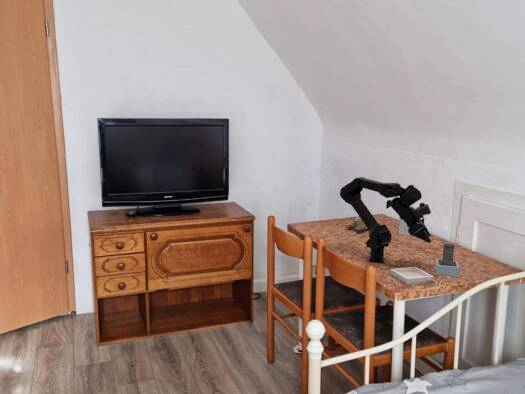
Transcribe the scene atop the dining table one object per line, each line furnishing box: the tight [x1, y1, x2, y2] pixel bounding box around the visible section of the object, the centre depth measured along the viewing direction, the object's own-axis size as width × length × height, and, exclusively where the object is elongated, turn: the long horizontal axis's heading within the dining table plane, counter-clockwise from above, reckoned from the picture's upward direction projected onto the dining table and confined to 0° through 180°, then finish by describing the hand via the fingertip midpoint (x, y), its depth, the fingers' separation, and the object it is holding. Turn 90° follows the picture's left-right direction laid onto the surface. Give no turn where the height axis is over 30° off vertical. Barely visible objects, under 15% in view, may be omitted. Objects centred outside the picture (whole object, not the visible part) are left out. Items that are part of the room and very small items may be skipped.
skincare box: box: [397, 216, 411, 236], centre depth 259 cm, size 6×4×12 cm
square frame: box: [434, 258, 460, 278], centre depth 202 cm, size 8×8×4 cm
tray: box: [389, 266, 434, 286], centre depth 194 cm, size 12×12×2 cm
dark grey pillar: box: [441, 242, 455, 266], centre depth 201 cm, size 4×4×12 cm
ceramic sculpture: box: [344, 216, 368, 233], centre depth 266 cm, size 11×9×15 cm
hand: (430, 239), depth 202 cm, fingers open, 9 cm apart
